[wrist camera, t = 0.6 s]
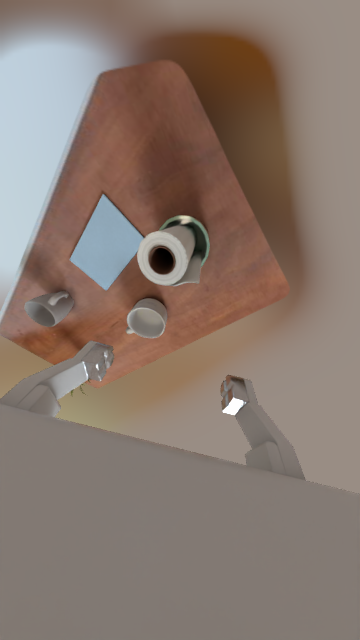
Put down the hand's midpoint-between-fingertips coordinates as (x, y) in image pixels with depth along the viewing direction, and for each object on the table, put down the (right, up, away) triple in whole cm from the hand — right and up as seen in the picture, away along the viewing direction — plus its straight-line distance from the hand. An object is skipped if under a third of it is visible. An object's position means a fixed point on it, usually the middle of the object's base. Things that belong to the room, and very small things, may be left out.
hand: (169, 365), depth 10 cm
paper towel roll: (+2, +22, +25) cm, 33 cm away
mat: (-19, +21, +28) cm, 40 cm away
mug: (-37, +11, +39) cm, 55 cm away
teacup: (-9, +6, +38) cm, 39 cm away
